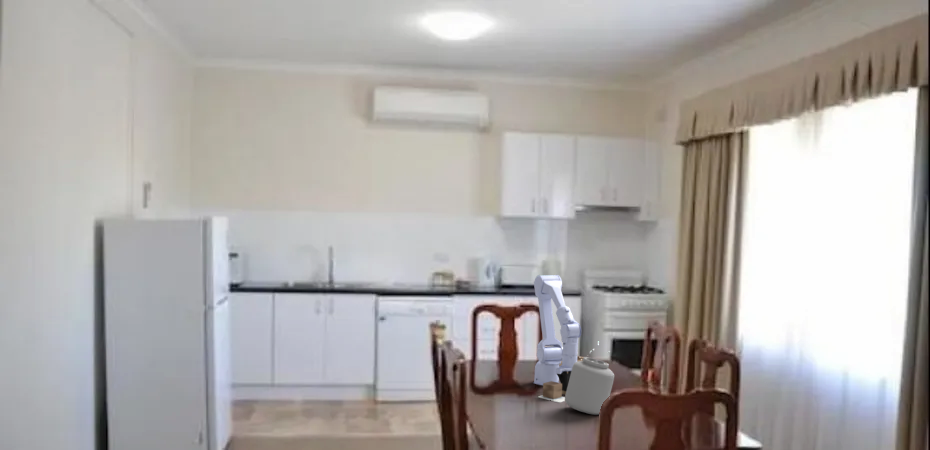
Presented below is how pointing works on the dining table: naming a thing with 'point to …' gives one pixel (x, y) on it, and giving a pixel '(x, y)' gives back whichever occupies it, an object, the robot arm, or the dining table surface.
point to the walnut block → (552, 390)
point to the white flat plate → (554, 399)
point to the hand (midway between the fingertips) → (568, 389)
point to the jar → (589, 385)
